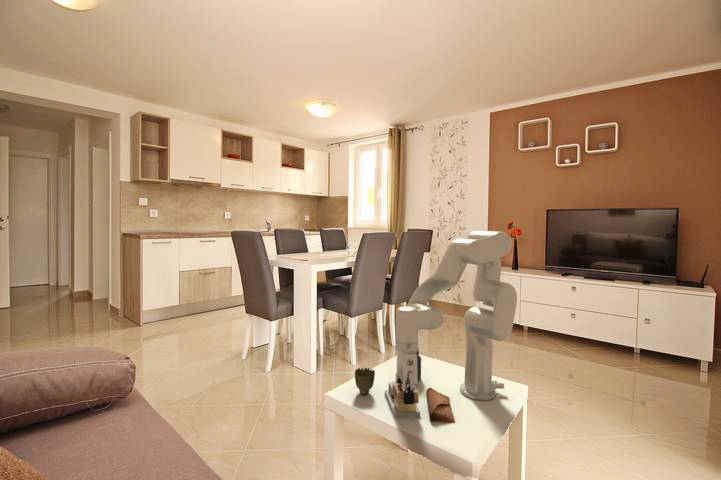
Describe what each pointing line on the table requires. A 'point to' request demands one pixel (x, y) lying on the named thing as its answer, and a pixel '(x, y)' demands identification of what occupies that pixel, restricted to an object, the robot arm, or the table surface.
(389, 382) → the stand rod
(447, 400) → the sunglasses case
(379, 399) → the table surface
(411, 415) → the parts board
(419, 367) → the supplement bottle
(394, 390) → the collar
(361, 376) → the cup
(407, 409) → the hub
